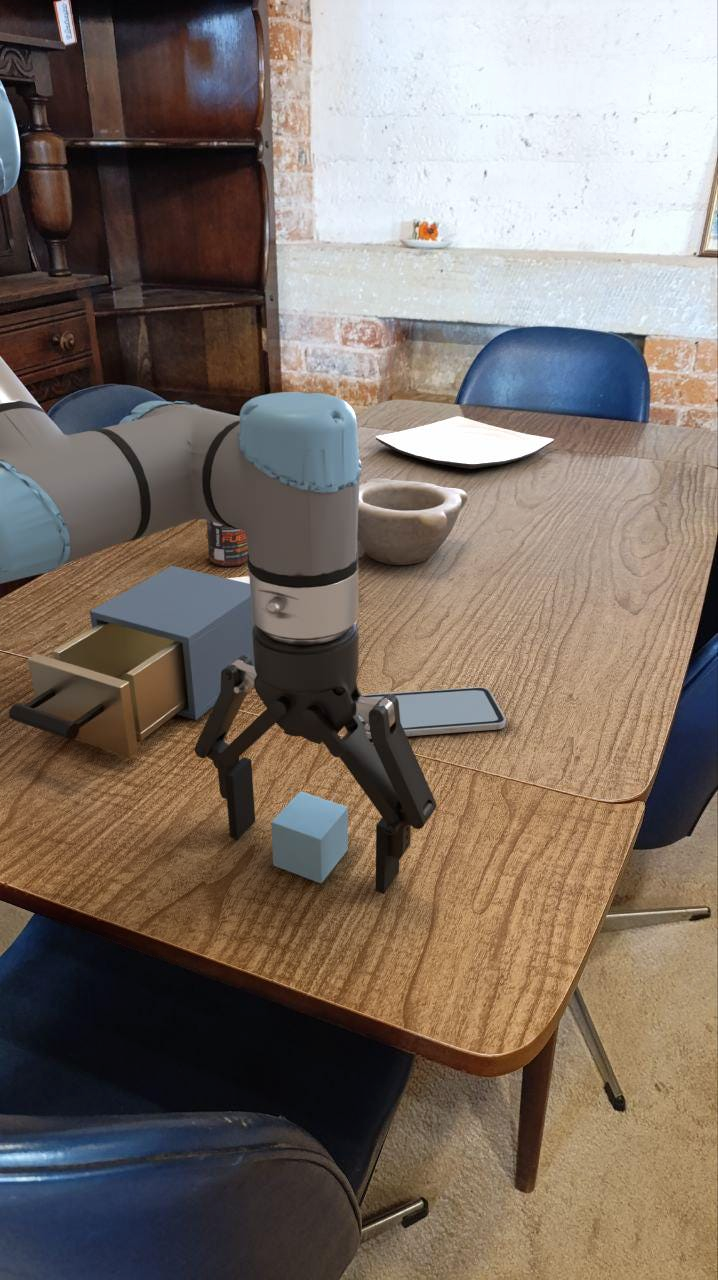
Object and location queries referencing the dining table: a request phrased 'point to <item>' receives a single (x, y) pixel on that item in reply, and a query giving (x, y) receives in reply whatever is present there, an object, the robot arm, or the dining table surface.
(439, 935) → the dining table surface
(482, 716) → the smartphone
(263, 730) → the robot arm
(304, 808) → the cube
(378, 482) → the mortar
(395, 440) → the plate
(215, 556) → the supplement bottle
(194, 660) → the compartment
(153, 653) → the drawer
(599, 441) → the dining table surface
